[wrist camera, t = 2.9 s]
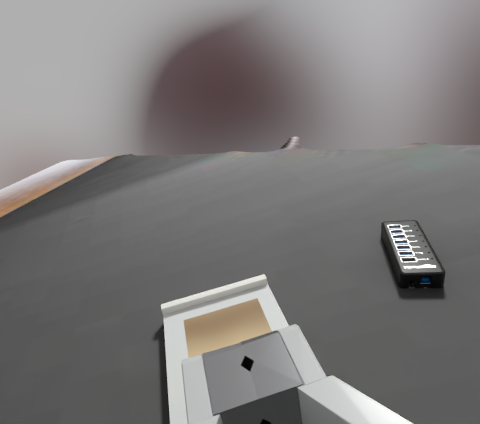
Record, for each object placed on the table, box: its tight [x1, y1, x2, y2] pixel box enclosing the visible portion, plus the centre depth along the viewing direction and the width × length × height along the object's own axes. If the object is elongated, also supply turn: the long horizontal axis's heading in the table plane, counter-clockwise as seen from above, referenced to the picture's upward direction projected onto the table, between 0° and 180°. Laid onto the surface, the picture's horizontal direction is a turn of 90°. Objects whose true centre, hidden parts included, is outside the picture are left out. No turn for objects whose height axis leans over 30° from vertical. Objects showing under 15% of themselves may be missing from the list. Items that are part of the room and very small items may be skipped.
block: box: [184, 298, 272, 358], centre depth 23 cm, size 5×5×10 cm
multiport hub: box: [381, 220, 445, 288], centre depth 41 cm, size 4×11×2 cm, turn 171°
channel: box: [161, 274, 289, 424], centre depth 27 cm, size 28×12×2 cm, turn 14°
